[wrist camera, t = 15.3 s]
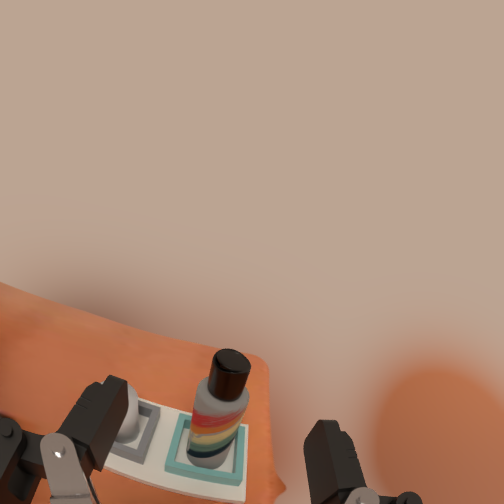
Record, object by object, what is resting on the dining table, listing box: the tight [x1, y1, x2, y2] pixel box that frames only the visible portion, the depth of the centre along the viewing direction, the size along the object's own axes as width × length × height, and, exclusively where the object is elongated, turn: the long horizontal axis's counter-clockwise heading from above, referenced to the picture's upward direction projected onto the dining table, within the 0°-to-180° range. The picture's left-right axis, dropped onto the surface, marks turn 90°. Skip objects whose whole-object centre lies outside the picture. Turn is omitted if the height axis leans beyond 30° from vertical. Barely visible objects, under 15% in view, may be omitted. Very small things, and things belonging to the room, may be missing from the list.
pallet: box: [101, 381, 248, 504], centre depth 29 cm, size 25×15×10 cm, turn 89°
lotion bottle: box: [186, 349, 251, 470], centre depth 27 cm, size 6×6×20 cm
